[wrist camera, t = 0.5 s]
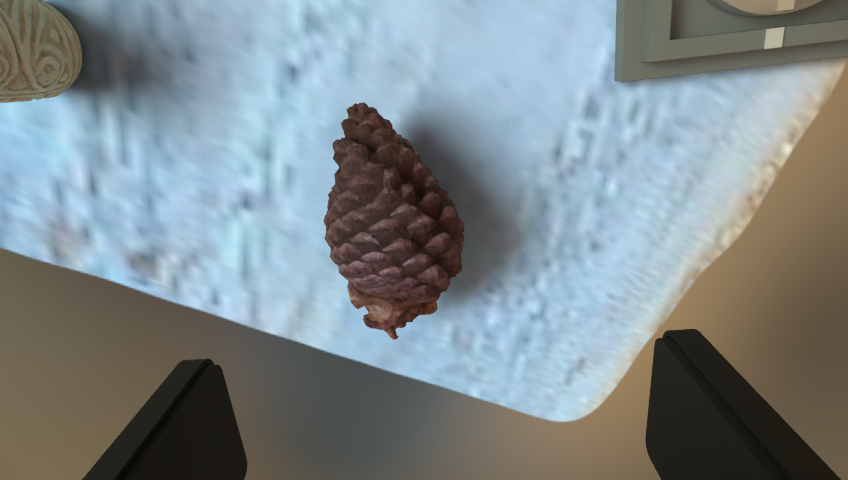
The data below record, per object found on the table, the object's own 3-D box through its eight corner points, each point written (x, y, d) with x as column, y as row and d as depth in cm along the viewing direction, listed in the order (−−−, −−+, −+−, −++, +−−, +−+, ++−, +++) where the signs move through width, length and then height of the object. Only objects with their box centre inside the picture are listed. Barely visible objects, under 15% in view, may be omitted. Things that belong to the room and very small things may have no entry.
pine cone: (311, 107, 37) (269, 125, 27) (441, 83, 36) (443, 93, 27) (362, 311, 43) (342, 382, 34) (474, 294, 42) (486, 362, 33)
